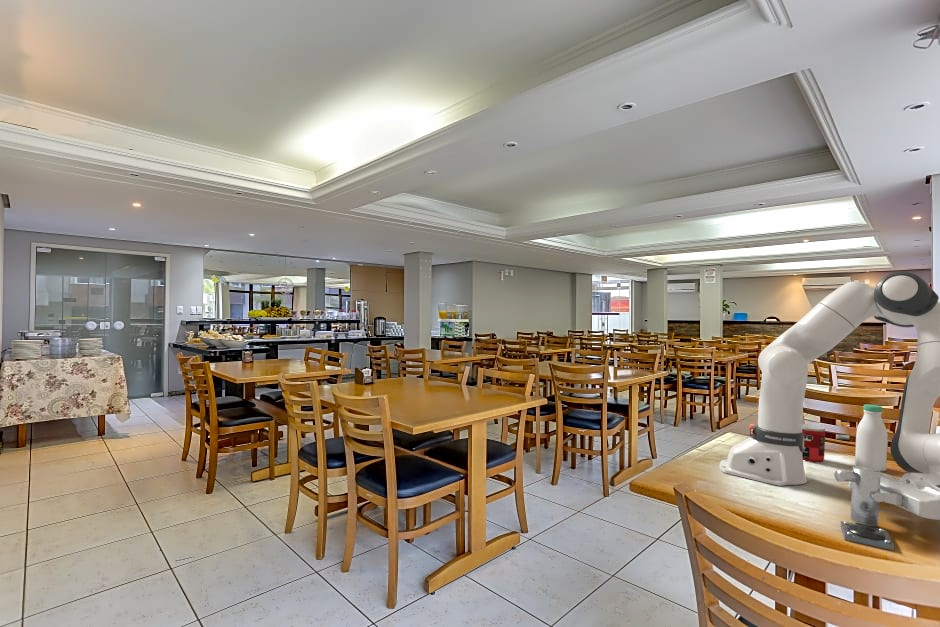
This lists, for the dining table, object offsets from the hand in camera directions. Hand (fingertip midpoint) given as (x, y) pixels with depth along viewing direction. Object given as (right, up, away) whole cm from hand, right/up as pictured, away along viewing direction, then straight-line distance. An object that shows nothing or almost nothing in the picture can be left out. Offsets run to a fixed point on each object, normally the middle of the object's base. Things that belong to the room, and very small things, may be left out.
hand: (861, 490), depth 111 cm
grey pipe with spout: (-1, -7, 0) cm, 7 cm away
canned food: (+23, -8, +50) cm, 56 cm away
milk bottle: (+37, -9, +42) cm, 57 cm away
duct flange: (-4, -8, -6) cm, 11 cm away
